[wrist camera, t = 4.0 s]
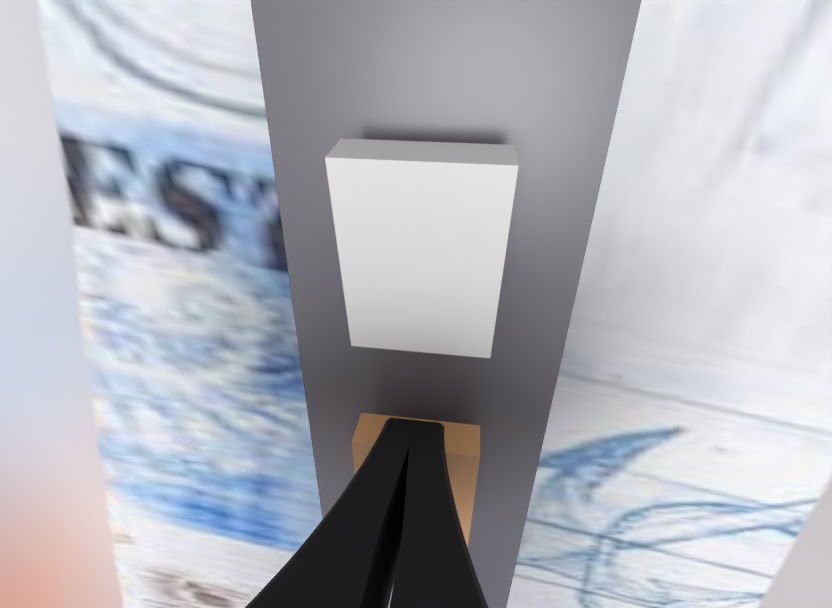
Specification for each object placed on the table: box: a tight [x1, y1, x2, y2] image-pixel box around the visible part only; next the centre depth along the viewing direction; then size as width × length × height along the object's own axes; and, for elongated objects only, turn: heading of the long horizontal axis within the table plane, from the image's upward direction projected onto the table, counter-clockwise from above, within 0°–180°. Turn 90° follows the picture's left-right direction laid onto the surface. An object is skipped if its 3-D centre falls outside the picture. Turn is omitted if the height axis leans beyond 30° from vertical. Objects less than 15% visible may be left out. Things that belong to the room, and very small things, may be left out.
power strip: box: [251, 0, 641, 608], centre depth 14 cm, size 26×7×3 cm, turn 179°
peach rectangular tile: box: [352, 413, 480, 548], centre depth 12 cm, size 4×3×1 cm
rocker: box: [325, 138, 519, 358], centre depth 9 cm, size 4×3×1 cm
